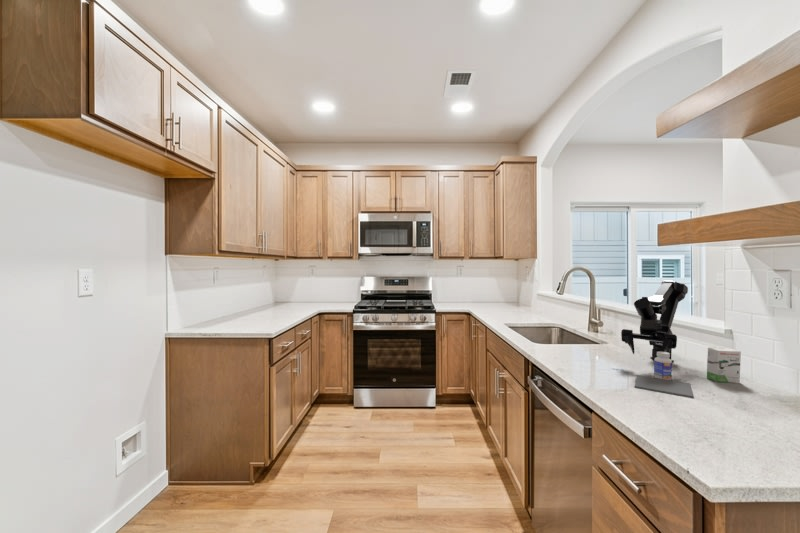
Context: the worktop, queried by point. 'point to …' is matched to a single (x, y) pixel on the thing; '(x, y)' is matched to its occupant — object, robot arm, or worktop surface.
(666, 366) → the pill bottle
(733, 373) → the ink box
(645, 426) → the worktop surface
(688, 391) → the rubber mat
